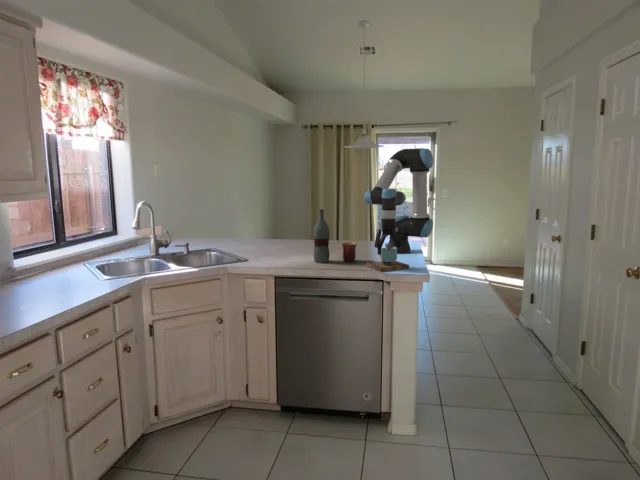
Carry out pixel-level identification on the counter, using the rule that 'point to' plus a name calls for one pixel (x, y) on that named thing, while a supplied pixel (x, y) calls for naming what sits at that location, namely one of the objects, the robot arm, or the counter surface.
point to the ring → (389, 255)
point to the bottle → (321, 240)
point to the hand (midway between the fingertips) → (387, 259)
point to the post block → (387, 264)
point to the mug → (349, 251)
